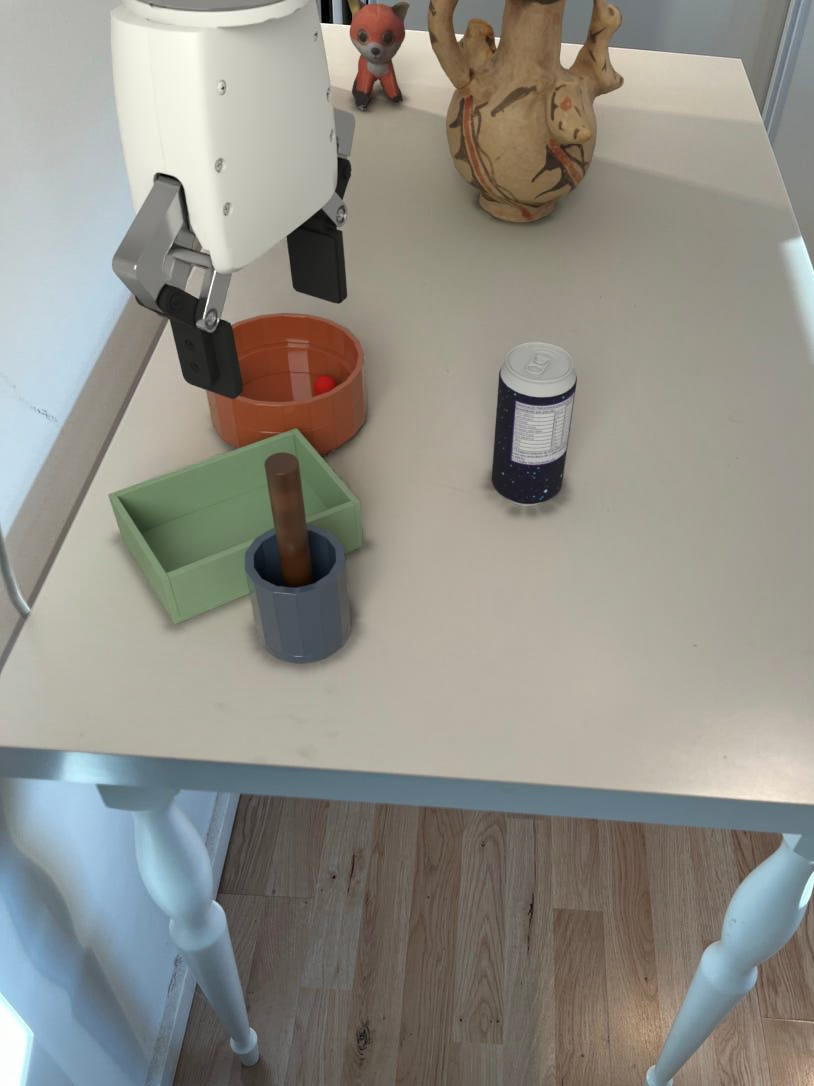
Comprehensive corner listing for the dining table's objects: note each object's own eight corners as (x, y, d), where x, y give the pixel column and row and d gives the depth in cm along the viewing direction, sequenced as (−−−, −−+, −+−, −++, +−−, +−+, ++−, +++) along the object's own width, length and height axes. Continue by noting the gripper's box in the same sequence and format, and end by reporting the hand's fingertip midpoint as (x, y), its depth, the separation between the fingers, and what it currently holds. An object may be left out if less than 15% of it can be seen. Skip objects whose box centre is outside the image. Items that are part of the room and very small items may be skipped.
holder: (284, 678, 65) (272, 608, 60) (242, 616, 69) (227, 545, 63) (367, 640, 68) (363, 569, 63) (323, 582, 71) (315, 510, 66)
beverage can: (571, 479, 80) (590, 351, 71) (544, 521, 77) (561, 393, 67) (508, 458, 81) (519, 330, 72) (479, 498, 78) (487, 370, 69)
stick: (297, 635, 67) (273, 478, 56) (284, 617, 68) (258, 459, 57) (323, 624, 68) (304, 466, 57) (310, 606, 69) (289, 447, 58)
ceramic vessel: (575, 260, 103) (610, -14, 84) (404, 228, 106) (400, -45, 87) (609, 186, 114) (647, -69, 95) (454, 159, 117) (461, -95, 98)
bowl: (254, 486, 78) (243, 424, 73) (188, 400, 84) (175, 339, 80) (394, 434, 83) (393, 373, 78) (322, 357, 89) (316, 297, 85)
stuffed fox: (411, 81, 132) (410, -22, 123) (409, 116, 125) (409, 9, 115) (355, 79, 131) (350, -24, 122) (350, 114, 124) (345, 6, 115)
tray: (175, 624, 68) (161, 580, 65) (122, 539, 73) (107, 494, 70) (363, 546, 74) (360, 501, 70) (302, 472, 79) (296, 427, 76)
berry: (321, 406, 83) (319, 386, 82) (310, 394, 84) (308, 374, 83) (342, 399, 84) (340, 379, 83) (330, 387, 85) (329, 368, 84)
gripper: (258, -113, 44) (300, 248, 57) (-29, -1, 34) (102, 407, 47) (404, -86, 42) (412, 281, 55) (146, 41, 32) (232, 455, 45)
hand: (270, 339), depth 51 cm, fingers open, 9 cm apart
